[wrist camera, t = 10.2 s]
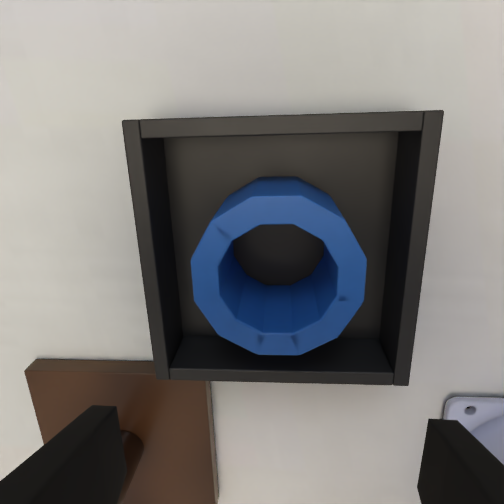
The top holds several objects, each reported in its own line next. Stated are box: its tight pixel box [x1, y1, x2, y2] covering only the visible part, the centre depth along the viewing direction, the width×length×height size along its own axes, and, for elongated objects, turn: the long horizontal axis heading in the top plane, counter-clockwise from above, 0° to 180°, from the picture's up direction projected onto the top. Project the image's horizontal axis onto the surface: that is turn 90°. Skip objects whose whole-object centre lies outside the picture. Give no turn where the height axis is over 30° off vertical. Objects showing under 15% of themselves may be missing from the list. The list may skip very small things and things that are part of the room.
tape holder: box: [24, 359, 219, 504], centre depth 18 cm, size 9×9×6 cm
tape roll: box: [191, 176, 367, 355], centre depth 14 cm, size 6×6×4 cm
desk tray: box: [122, 110, 444, 386], centre depth 15 cm, size 10×10×3 cm
